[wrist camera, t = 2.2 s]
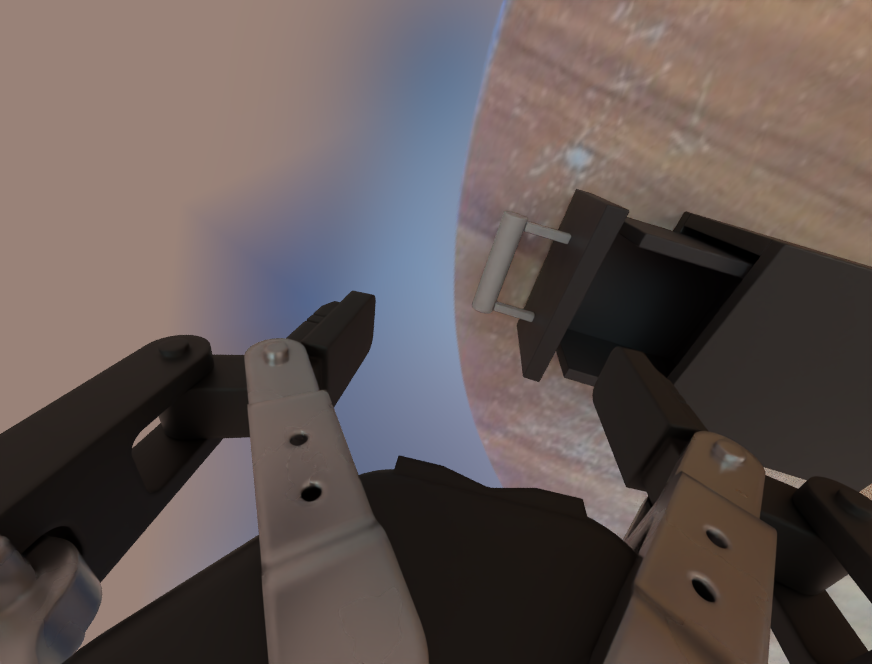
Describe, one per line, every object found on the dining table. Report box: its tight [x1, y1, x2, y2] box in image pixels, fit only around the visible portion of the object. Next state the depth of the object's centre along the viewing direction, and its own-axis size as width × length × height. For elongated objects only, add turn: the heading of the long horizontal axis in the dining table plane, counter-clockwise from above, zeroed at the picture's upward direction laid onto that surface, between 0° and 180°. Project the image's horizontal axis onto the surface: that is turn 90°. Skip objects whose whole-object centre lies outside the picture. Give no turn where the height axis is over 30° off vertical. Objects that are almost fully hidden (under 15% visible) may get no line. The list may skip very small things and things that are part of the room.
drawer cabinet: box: [667, 212, 872, 492], centre depth 23 cm, size 15×13×10 cm
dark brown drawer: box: [472, 189, 759, 386], centre depth 23 cm, size 18×12×8 cm, turn 76°
